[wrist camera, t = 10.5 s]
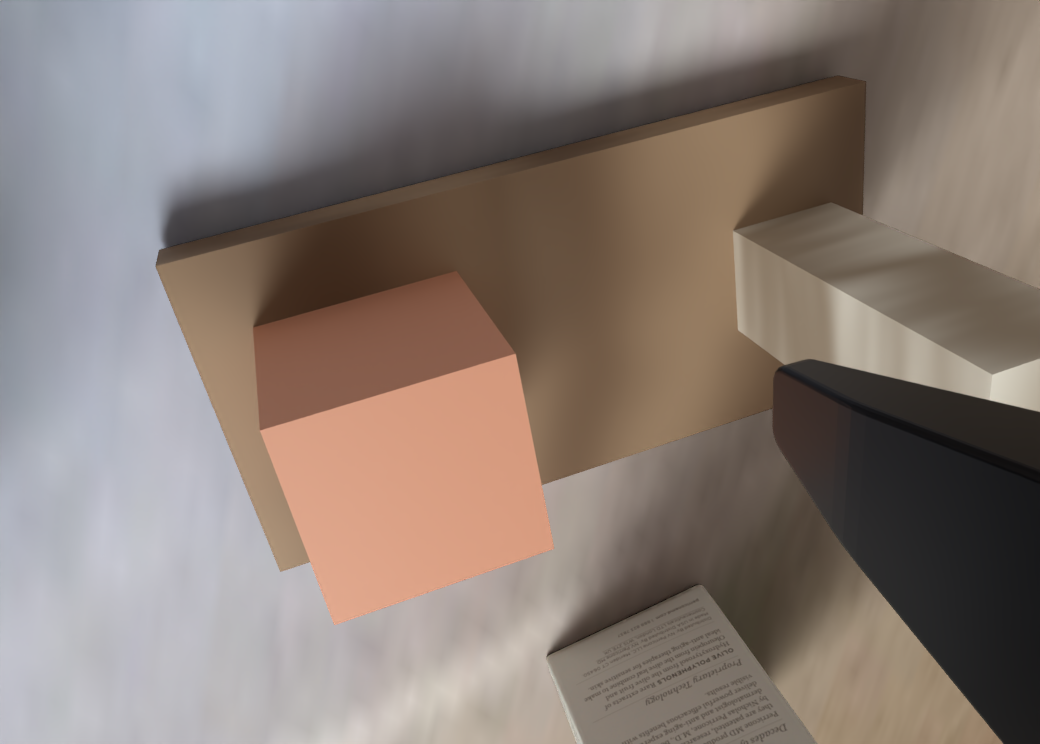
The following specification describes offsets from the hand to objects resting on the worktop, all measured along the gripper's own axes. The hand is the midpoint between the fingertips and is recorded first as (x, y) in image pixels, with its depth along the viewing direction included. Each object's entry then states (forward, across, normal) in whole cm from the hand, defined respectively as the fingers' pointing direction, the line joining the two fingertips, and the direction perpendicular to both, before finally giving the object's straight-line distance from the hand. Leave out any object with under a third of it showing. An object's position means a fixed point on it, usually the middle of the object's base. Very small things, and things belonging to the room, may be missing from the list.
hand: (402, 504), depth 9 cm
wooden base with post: (+13, -5, +5) cm, 15 cm away
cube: (+12, 0, +5) cm, 13 cm away
